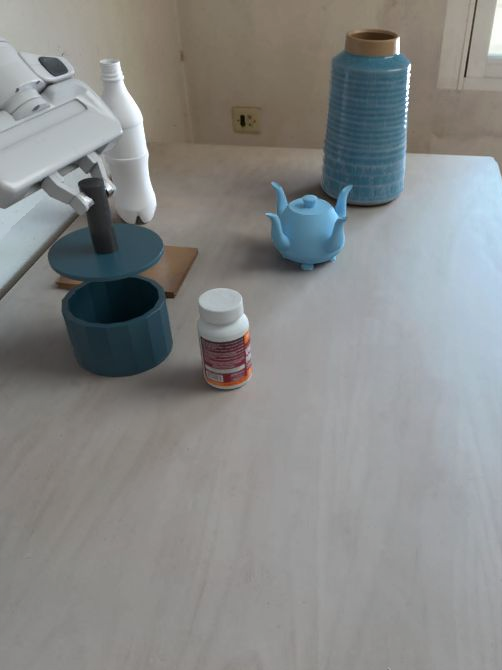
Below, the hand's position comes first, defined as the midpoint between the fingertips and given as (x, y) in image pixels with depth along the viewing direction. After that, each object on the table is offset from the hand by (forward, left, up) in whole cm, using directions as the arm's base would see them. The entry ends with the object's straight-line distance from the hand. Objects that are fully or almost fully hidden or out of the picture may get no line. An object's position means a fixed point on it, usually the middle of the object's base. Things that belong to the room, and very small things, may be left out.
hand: (100, 202), depth 71 cm
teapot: (+20, +29, -20) cm, 40 cm away
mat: (-7, +20, -20) cm, 29 cm away
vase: (+27, +57, -20) cm, 66 cm away
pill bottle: (+14, -4, -20) cm, 25 cm away
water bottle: (-12, +38, -20) cm, 44 cm away
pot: (-1, 0, -20) cm, 20 cm away
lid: (-1, 0, -6) cm, 6 cm away
